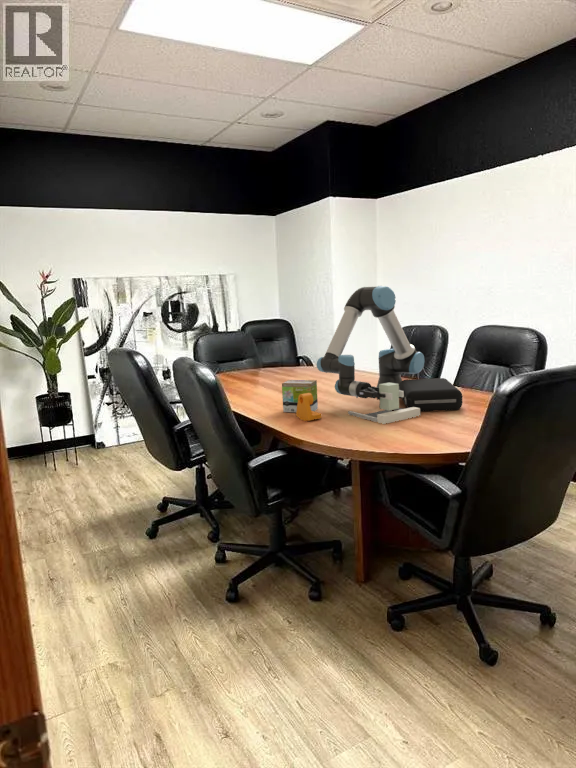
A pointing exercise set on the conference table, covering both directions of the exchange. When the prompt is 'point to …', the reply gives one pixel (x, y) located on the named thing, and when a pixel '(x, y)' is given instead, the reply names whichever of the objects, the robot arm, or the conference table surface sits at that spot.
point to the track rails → (366, 415)
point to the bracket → (306, 408)
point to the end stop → (398, 415)
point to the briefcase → (431, 394)
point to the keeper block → (393, 389)
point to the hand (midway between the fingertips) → (397, 395)
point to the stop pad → (378, 413)
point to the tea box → (298, 393)
